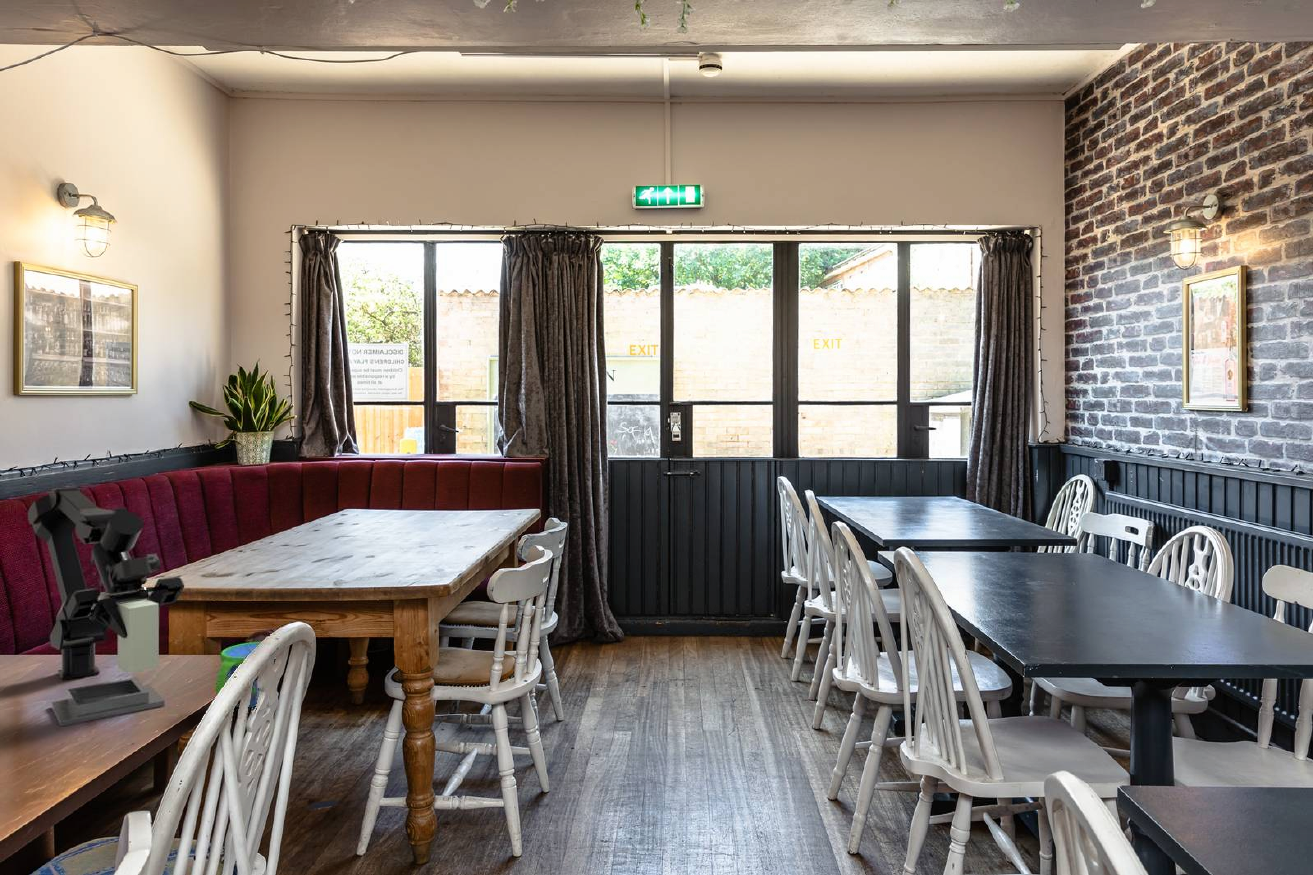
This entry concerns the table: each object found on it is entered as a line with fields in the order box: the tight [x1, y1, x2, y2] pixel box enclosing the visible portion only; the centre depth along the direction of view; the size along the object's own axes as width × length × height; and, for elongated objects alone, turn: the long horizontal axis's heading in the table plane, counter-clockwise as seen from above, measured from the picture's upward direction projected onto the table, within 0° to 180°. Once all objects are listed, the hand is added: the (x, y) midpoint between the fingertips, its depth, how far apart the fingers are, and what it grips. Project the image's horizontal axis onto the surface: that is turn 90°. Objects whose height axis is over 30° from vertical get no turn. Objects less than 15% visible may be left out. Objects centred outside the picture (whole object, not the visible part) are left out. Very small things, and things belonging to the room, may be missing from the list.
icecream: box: [244, 627, 276, 643], centre depth 187 cm, size 7×7×15 cm
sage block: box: [117, 599, 160, 674], centre depth 159 cm, size 5×5×12 cm
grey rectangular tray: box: [50, 677, 166, 727], centre depth 158 cm, size 12×16×3 cm
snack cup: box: [215, 642, 261, 708], centre depth 161 cm, size 16×10×10 cm
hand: (141, 633), depth 158 cm, fingers closed on sage block, 5 cm apart
